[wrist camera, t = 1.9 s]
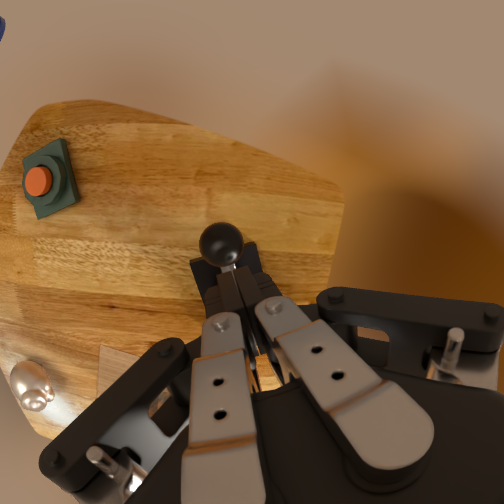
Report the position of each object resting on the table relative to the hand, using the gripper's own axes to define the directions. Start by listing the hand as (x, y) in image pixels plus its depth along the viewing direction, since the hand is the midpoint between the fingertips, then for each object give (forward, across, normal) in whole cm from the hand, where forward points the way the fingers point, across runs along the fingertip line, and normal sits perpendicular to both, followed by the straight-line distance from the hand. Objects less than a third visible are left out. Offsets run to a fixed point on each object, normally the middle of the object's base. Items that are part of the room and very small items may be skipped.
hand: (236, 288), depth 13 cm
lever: (+12, 0, +5) cm, 13 cm away
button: (+21, +20, -11) cm, 31 cm away
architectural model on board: (+24, +18, +29) cm, 42 cm away
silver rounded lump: (+24, +41, +18) cm, 51 cm away
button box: (+24, +20, -11) cm, 33 cm away
